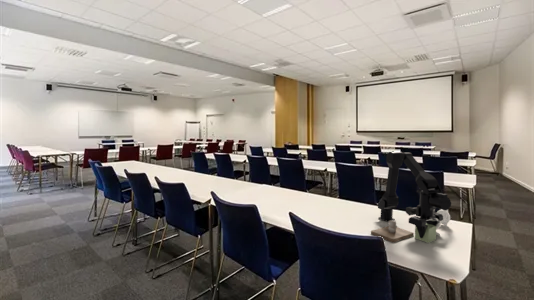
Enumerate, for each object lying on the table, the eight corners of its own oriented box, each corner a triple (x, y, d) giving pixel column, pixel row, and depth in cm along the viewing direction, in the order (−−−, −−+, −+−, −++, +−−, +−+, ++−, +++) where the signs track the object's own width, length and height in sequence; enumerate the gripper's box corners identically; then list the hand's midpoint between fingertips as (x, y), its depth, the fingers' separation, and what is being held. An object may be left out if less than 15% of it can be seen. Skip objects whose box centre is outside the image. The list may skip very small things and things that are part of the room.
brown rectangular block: (391, 228, 139) (391, 215, 139) (413, 235, 129) (414, 222, 128) (370, 233, 131) (371, 220, 131) (392, 242, 121) (393, 228, 120)
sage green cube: (422, 235, 129) (422, 222, 129) (435, 240, 124) (436, 226, 123) (414, 238, 126) (415, 224, 125) (428, 242, 121) (428, 228, 120)
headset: (437, 223, 147) (438, 191, 146) (452, 226, 141) (453, 193, 140) (423, 231, 134) (424, 197, 133) (439, 236, 129) (440, 200, 127)
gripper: (420, 197, 135) (419, 227, 136) (398, 202, 126) (397, 234, 127) (444, 202, 126) (442, 234, 127) (421, 208, 116) (420, 243, 117)
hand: (425, 236), depth 125 cm, fingers closed on sage green cube, 6 cm apart
